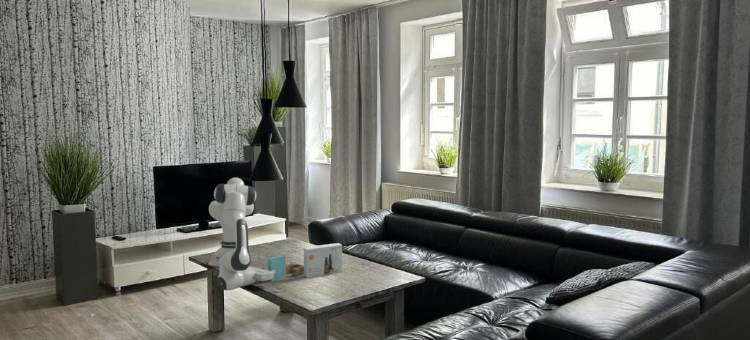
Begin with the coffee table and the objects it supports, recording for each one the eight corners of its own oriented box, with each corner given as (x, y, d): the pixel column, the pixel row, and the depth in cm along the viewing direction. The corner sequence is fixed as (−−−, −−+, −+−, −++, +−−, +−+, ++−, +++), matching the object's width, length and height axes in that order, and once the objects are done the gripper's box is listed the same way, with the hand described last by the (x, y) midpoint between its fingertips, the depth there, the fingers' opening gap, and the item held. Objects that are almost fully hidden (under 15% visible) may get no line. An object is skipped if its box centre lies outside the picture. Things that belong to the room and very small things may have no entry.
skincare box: (307, 278, 311) (306, 249, 309) (303, 276, 316) (302, 247, 314) (343, 272, 320) (342, 244, 319) (339, 270, 325) (338, 242, 323)
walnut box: (296, 276, 314) (296, 269, 314) (283, 273, 321) (283, 266, 321) (307, 273, 320) (307, 266, 320) (294, 270, 327) (293, 263, 327)
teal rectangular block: (271, 281, 307) (270, 259, 305) (268, 280, 308) (267, 258, 307) (286, 277, 314) (285, 255, 313) (283, 276, 316) (282, 254, 314)
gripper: (260, 273, 288) (281, 267, 299) (235, 267, 302) (256, 261, 312) (260, 285, 289) (282, 279, 300) (235, 278, 302) (256, 272, 313)
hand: (268, 270), depth 306 cm, fingers open, 8 cm apart
